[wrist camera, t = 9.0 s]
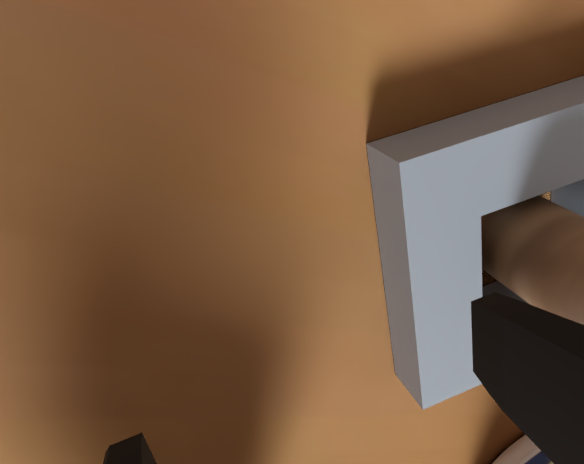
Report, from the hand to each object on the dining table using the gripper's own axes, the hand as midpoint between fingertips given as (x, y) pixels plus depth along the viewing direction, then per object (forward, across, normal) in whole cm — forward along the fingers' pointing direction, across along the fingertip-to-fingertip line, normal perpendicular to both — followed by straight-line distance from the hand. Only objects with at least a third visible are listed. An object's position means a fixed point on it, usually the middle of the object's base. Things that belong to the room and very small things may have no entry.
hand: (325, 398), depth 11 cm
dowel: (+10, -12, +5) cm, 16 cm away
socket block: (+10, -12, +5) cm, 16 cm away
